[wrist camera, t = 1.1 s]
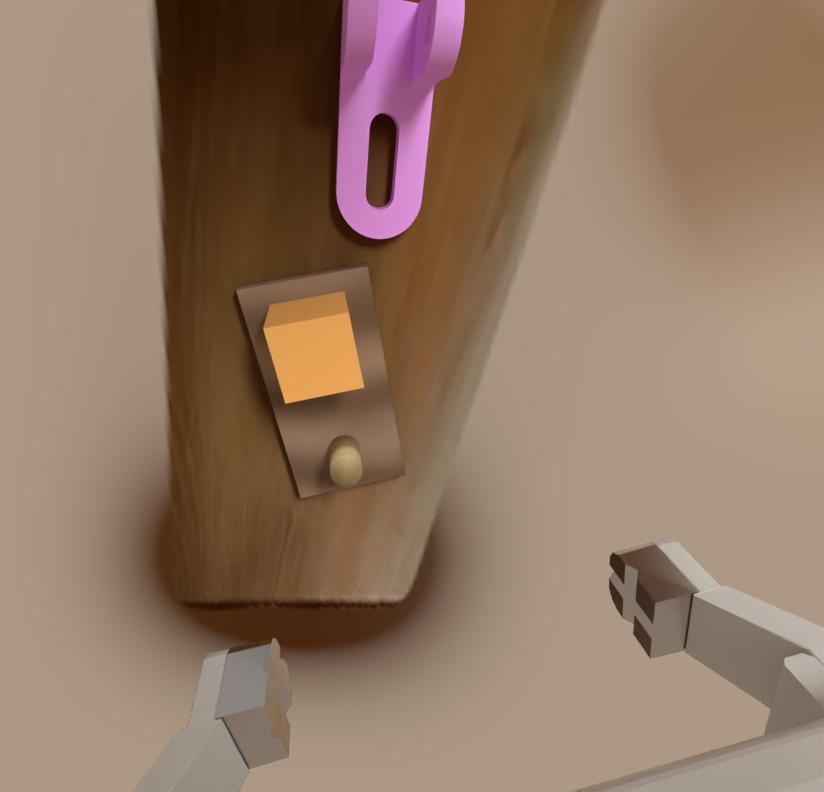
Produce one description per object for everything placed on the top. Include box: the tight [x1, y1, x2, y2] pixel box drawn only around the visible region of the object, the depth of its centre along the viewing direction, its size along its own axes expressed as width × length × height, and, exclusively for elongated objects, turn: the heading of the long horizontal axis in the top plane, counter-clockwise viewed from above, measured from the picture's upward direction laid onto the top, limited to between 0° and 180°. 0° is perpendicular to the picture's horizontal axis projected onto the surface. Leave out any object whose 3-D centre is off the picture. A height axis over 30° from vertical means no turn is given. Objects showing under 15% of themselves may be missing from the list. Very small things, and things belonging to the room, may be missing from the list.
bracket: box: [336, 0, 465, 239], centre depth 29 cm, size 13×6×7 cm, turn 174°
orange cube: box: [263, 291, 364, 404], centre depth 33 cm, size 5×5×5 cm
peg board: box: [236, 263, 405, 498], centre depth 37 cm, size 18×9×5 cm, turn 8°
